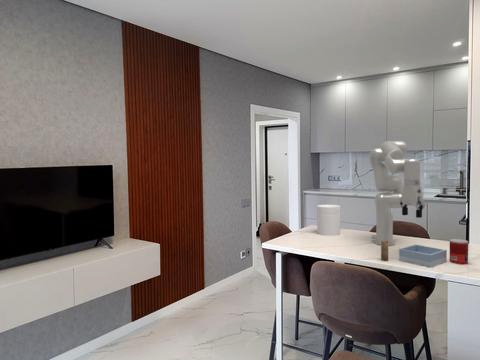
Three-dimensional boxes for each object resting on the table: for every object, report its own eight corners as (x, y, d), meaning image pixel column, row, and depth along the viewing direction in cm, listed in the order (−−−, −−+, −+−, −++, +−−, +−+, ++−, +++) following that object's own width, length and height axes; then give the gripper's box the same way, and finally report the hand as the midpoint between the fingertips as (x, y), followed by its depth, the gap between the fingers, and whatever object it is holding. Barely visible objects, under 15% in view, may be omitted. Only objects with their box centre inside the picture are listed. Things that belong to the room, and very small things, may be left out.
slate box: (399, 260, 185) (399, 248, 185) (415, 255, 194) (415, 244, 194) (430, 267, 172) (430, 255, 172) (446, 261, 181) (446, 250, 181)
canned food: (469, 264, 175) (469, 242, 175) (450, 263, 178) (451, 241, 178) (466, 260, 182) (466, 239, 182) (448, 259, 185) (448, 238, 185)
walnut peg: (379, 259, 187) (379, 240, 186) (383, 258, 189) (383, 240, 188) (385, 261, 184) (385, 242, 183) (389, 260, 186) (389, 241, 185)
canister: (313, 234, 256) (313, 206, 255) (323, 230, 269) (322, 204, 268) (335, 236, 246) (334, 207, 245) (343, 232, 259) (343, 205, 258)
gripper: (431, 183, 177) (430, 218, 178) (405, 182, 194) (405, 213, 194) (418, 184, 175) (418, 218, 176) (394, 182, 192) (394, 214, 192)
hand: (411, 216), depth 185 cm, fingers open, 9 cm apart
